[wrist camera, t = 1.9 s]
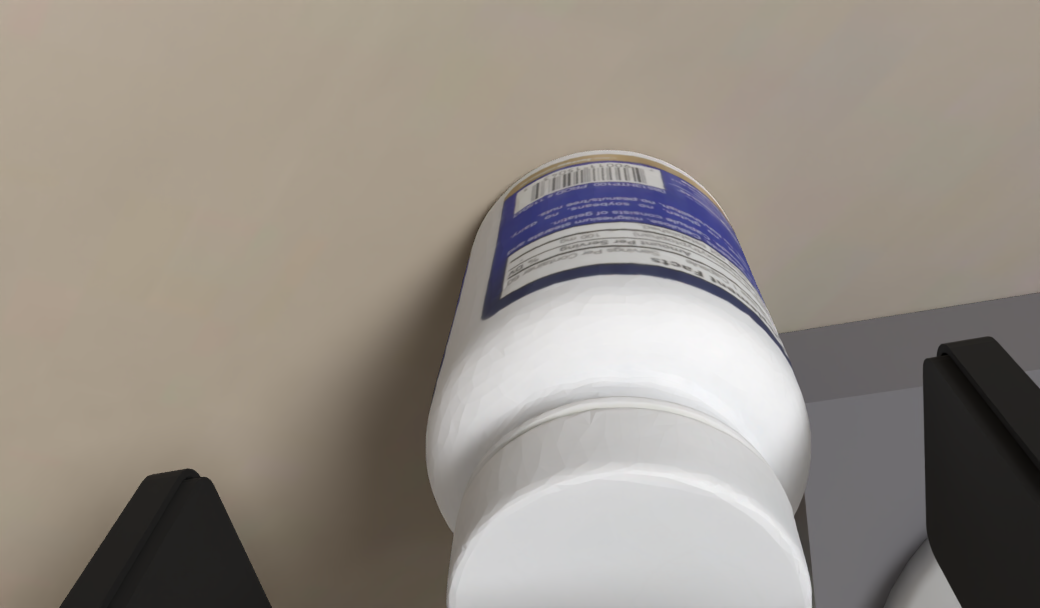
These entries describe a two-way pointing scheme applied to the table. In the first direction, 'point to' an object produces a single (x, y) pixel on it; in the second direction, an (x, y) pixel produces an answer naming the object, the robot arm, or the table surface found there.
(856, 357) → the scale
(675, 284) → the pill bottle
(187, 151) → the table surface
